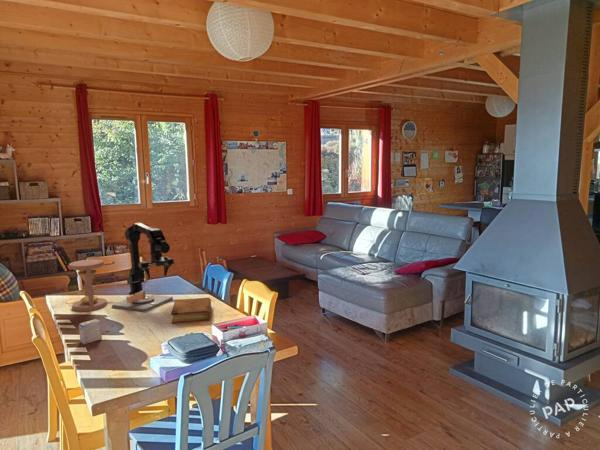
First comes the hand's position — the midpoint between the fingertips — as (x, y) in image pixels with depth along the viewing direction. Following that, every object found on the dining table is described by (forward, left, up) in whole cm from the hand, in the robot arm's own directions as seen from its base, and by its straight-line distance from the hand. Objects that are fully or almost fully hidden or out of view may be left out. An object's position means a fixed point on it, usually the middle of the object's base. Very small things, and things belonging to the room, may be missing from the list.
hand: (157, 277), depth 252 cm
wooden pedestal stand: (-30, -21, -14) cm, 39 cm away
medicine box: (+10, -58, -14) cm, 61 cm away
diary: (+33, -14, -14) cm, 39 cm away
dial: (-5, -10, -12) cm, 16 cm away
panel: (-5, -7, -14) cm, 16 cm away
